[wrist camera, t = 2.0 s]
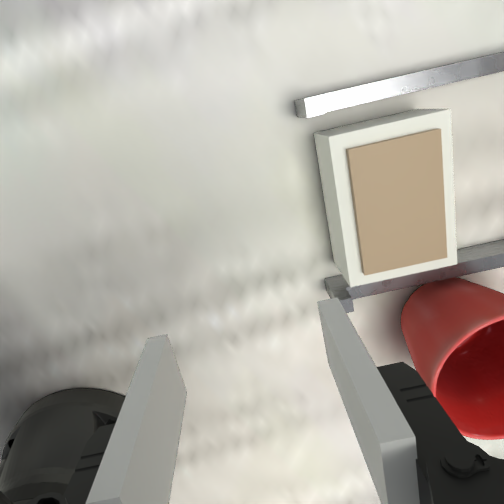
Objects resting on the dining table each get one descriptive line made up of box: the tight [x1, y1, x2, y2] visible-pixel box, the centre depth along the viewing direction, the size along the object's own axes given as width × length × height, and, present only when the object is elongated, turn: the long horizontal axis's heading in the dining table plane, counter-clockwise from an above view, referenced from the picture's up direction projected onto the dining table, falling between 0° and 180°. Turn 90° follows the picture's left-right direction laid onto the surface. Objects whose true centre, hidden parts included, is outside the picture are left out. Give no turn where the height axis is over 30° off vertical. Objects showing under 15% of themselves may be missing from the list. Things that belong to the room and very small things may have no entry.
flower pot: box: [401, 277, 504, 440], centre depth 32 cm, size 11×11×10 cm
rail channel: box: [294, 52, 504, 313], centre depth 30 cm, size 20×16×4 cm
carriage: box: [314, 109, 457, 287], centre depth 29 cm, size 8×11×6 cm
